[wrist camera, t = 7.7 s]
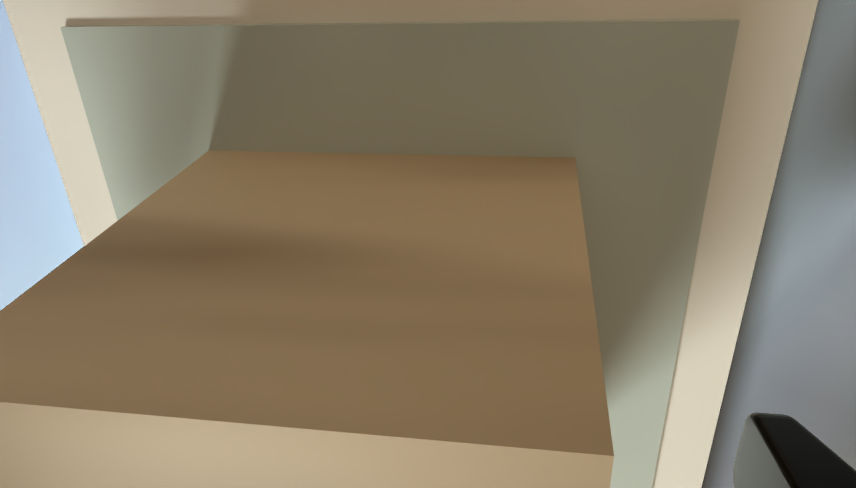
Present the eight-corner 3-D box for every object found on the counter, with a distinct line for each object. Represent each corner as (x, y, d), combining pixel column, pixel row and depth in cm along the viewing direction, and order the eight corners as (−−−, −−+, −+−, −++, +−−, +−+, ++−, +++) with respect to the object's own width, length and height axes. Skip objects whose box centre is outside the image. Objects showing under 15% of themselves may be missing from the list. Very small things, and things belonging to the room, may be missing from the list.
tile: (676, 518, 12) (685, 561, 11) (186, 468, 14) (165, 502, 13) (805, -67, 7) (837, -62, 7) (32, -45, 9) (-17, -38, 8)
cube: (553, 443, 11) (561, 829, 6) (264, 419, 11) (93, 747, 7) (575, 157, 8) (615, 454, 4) (208, 150, 9) (-107, 393, 5)
